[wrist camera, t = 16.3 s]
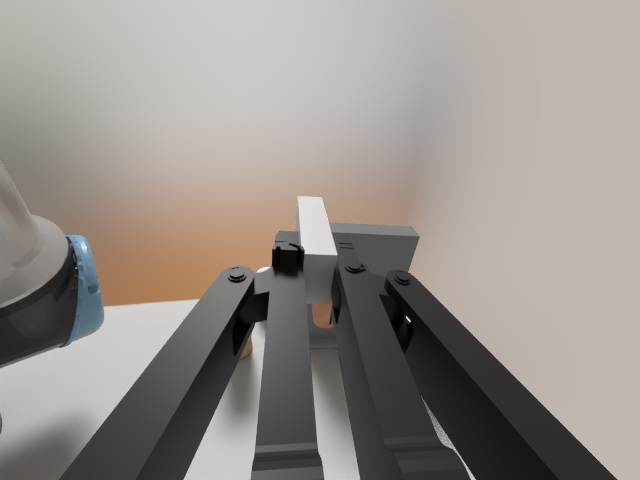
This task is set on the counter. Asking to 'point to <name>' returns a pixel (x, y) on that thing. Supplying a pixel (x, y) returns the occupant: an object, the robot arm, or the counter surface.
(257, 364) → the counter surface
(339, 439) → the counter surface
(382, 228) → the button panel
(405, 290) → the robot arm
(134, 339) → the counter surface
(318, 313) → the rust button
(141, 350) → the counter surface
